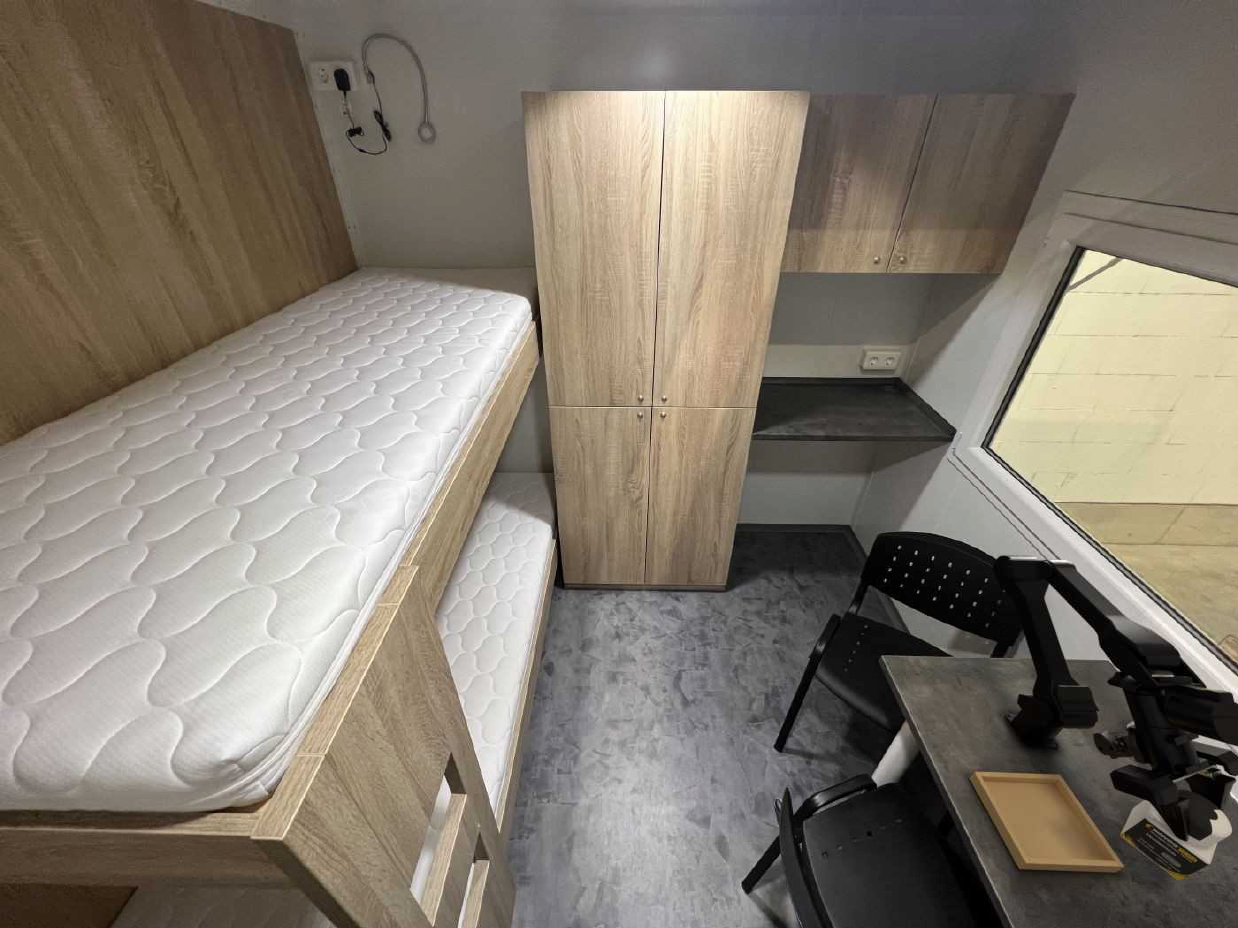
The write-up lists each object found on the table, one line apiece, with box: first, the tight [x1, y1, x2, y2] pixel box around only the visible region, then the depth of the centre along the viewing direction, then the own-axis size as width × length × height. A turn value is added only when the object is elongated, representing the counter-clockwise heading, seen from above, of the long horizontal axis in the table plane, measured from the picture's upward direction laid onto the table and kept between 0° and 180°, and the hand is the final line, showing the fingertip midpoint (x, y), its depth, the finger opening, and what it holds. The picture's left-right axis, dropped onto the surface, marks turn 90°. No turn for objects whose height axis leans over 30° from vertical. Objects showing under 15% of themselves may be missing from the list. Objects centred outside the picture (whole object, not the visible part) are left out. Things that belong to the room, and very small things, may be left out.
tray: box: [969, 771, 1125, 874], centre depth 83 cm, size 16×14×2 cm
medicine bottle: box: [1120, 789, 1233, 881], centre depth 74 cm, size 7×7×12 cm
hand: (1198, 832), depth 72 cm, fingers closed on medicine bottle, 6 cm apart
